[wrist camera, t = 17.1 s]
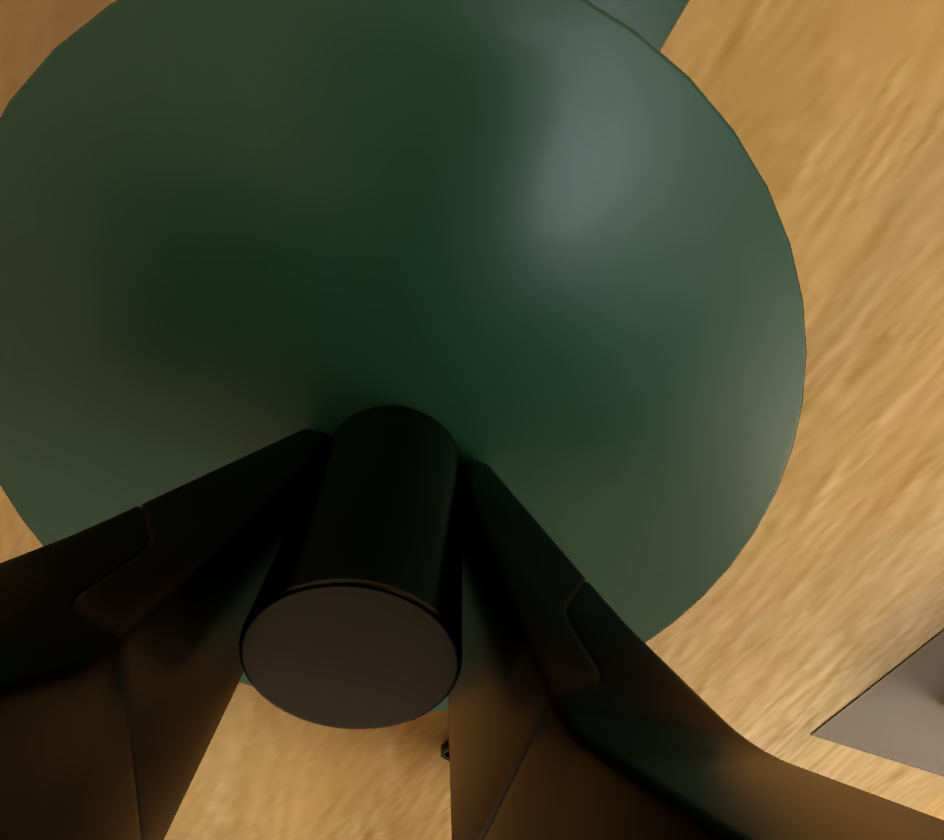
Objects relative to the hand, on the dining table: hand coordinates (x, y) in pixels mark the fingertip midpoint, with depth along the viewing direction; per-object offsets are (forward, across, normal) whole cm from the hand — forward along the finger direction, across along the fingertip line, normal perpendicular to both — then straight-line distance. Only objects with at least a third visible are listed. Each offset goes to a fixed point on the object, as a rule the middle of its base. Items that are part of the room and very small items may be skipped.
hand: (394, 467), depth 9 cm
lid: (0, 0, 0) cm, 1 cm away
